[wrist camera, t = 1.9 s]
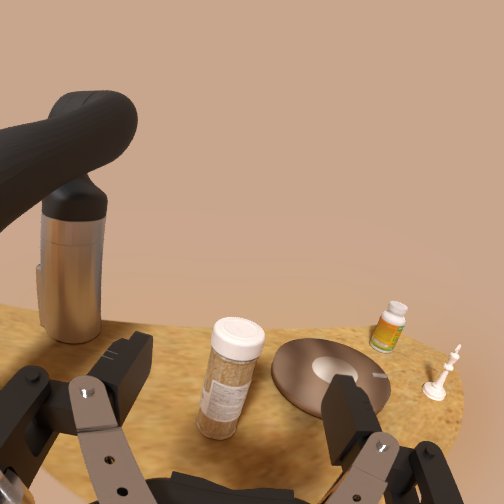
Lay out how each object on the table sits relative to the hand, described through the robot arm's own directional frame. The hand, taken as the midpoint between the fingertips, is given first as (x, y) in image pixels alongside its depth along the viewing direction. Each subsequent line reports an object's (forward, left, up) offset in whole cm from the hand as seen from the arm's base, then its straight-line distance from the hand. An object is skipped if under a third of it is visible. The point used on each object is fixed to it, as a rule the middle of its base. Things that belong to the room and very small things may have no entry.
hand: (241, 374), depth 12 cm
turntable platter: (+15, +23, -16) cm, 32 cm away
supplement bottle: (+30, +38, -18) cm, 52 cm away
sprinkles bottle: (0, +12, -18) cm, 22 cm away
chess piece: (+36, +23, -18) cm, 47 cm away
